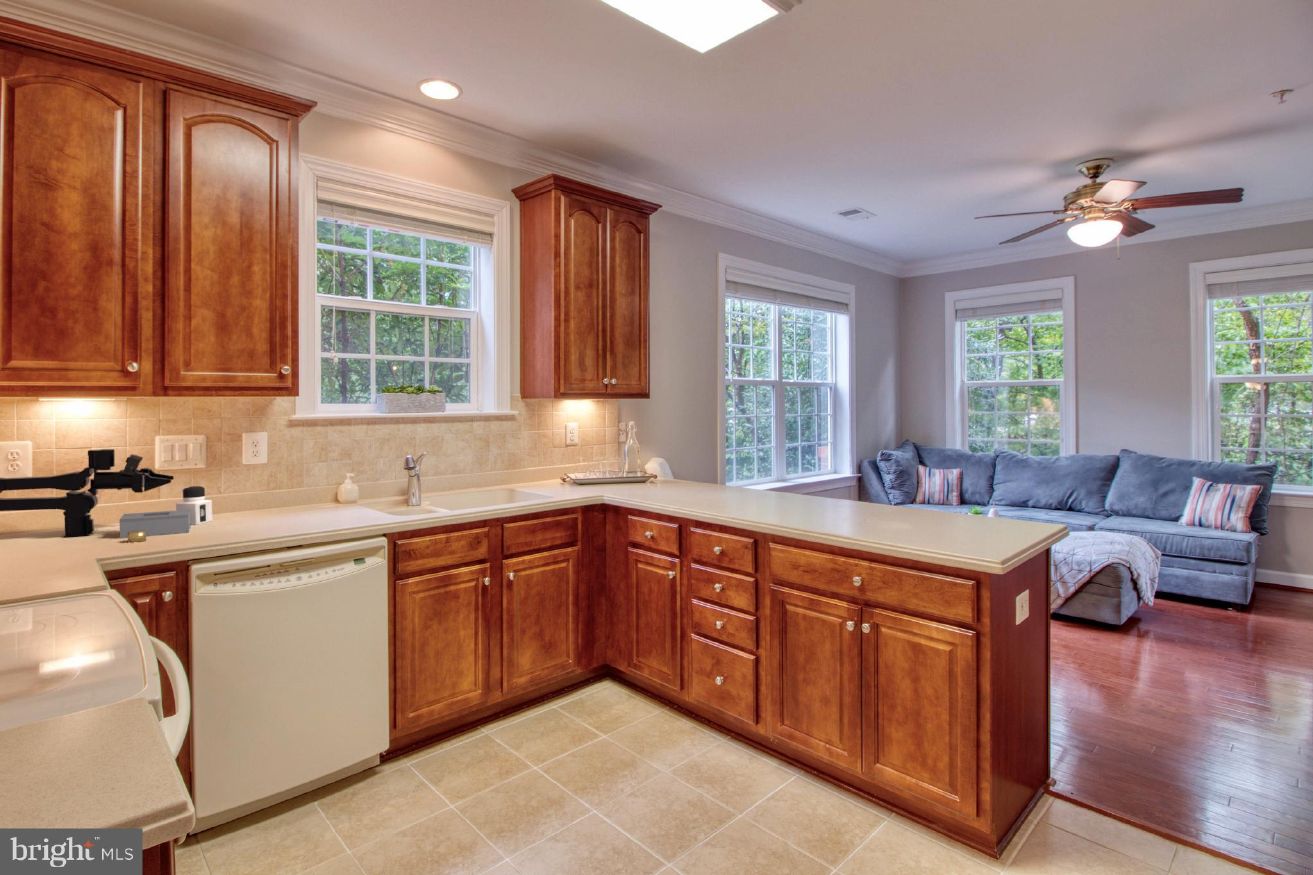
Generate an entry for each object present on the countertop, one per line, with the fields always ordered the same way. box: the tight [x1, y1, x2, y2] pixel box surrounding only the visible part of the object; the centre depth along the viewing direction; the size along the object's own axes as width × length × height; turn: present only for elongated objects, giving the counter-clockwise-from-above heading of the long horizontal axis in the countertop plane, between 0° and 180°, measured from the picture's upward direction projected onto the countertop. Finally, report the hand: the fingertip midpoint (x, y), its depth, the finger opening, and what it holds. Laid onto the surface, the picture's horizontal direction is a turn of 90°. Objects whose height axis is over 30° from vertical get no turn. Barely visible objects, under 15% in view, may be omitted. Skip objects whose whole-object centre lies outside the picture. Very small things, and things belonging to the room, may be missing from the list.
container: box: [175, 485, 213, 526], centre depth 245 cm, size 8×8×13 cm
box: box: [119, 509, 191, 539], centre depth 228 cm, size 18×12×6 cm, turn 122°
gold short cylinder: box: [127, 531, 147, 544], centre depth 214 cm, size 4×4×3 cm
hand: (172, 479), depth 235 cm, fingers open, 9 cm apart
